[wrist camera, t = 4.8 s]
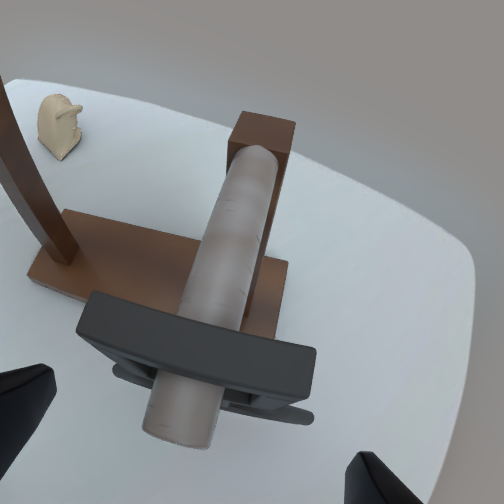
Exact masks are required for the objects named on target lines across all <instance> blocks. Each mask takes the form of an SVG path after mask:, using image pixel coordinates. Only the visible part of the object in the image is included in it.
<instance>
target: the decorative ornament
mask: <svg viewBox="0 0 504 504" xmlns="http://www.w3.org/2000/svg"><path fill="white" fill-rule="evenodd" d="M82 109H83V107H82V106H81V105H74V106H73V105H72V104H71V102H70V100H69V99H68V98H67V97H65V96H63V95H61V94H54V95H49V96H47V97H46V98H45V99H44V100H43V101H42V103H41V106H40V108H39V113H38V140H39V141H40V142H42V143H43V144H44V145H45V146H46V147H47V148H48V149H49V150H50V151H51V152H52V153H53V154H54V156H55V157H56V158H57V159H58V160H60V161H61V160H62V159H63V158H64V156H65V155H66V154H67V153H68V152H69V151H70V150H71V149H72V148H73V147H74V146H75V145H76V144H77V143H78V142H79V140H80V139H81V134H82V132H81V131H80V128H78V127H76V125H77V116H76V115H77V114H78V113H80V112H81V111H82Z"/></svg>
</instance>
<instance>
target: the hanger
mask: <svg viewBox="0 0 504 504" xmlns="http://www.w3.org/2000/svg"><path fill="white" fill-rule="evenodd" d="M76 333H77V334H78V335H79V336H80V337H81V338H83V339H84V340H85V341H87V342H88V343H89V344H91V345H92V346H93V347H95V348H96V349H97V350H99V351H100V352H101V353H103V354H104V355H106V356H107V357H108V358H110V359H111V360H113V361H114V362H116V363H117V364H115V365H114V366H113V368H112V371H113V374H114V375H115V376H116V377H118V378H121V379H124V380H126V381H129V382H131V383H134V384H137V385H140V386H143V387H145V388H148V389H151V390H152V388H153V384H154V381H155V378H156V374H157V371H158V369H161V370H164V371H167V372H171V373H174V374H177V375H181V376H184V377H187V378H191V379H195V380H198V381H202V382H206V383H209V384H213V385H217V386H221V387H225V390H224V394H223V398H222V402H221V406H220V409H221V410H225V411H229V412H234V413H238V414H243V415H247V416H252V417H257V418H263V419H268V420H274V421H279V422H286V423H292V424H301V425H310V424H311V423H312V422H313V421H314V415H313V413H312V412H310V411H307V410H303V409H300V408H296V407H293V406H290V405H289V404H292V403H295V402H298V401H302V400H305V399H307V398H308V397H309V396H310V391H311V385H312V379H313V373H314V367H315V360H316V353H317V352H316V349H315V348H313V347H309V346H304V345H299V344H294V343H289V342H284V341H279V340H275V339H270V338H266V337H261V336H257V335H252V334H248V333H244V332H239V331H235V330H231V329H227V328H223V327H219V326H215V325H211V324H207V323H204V322H200V321H196V320H192V319H189V318H185V317H181V316H178V315H174V314H171V313H167V312H164V311H160V310H157V309H154V308H150V307H147V306H144V305H140V304H137V303H134V302H131V301H128V300H124V299H121V298H118V297H115V296H112V295H109V294H106V293H103V292H100V291H97V290H93V291H92V292H91V294H90V296H89V298H88V301H87V303H86V305H85V308H84V310H83V313H82V315H81V317H80V320H79V322H78V325H77V327H76Z"/></svg>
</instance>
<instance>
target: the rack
mask: <svg viewBox="0 0 504 504" xmlns="http://www.w3.org/2000/svg"><path fill="white" fill-rule="evenodd" d="M295 125H296V123H295V122H294V121H290V120H285V119H281V118H276V117H272V116H267V115H262V114H257V113H251V112H246V111H242V113H241V115H240V117H239V119H238V121H237V123H236V125H235V127H234V129H233V131H232V133H231V135H230V138H229V140H228V149H227V166H226V178H225V181H224V183H223V186H222V188H221V191H220V193H219V196H218V198H217V201H216V204H215V206H214V209H213V211H212V214H211V217H210V219H209V222H208V225H207V227H206V230H205V233H204V235H203V238H202V241H199V240H195V239H191V238H186V237H182V236H178V235H174V234H169V233H165V232H161V231H157V230H153V229H148V228H144V227H140V226H136V225H131V224H127V223H123V222H119V221H114V220H110V219H106V218H102V217H98V216H93V215H89V214H85V213H81V212H76V211H72V210H68V209H64V210H63V212H62V213H61V214H60V212H59V210H58V209H57V207H56V205H55V203H54V201H53V199H52V197H51V196H50V194H49V192H48V190H47V188H46V186H45V184H44V182H43V180H42V178H41V176H40V174H39V172H38V170H37V168H36V165H35V163H34V161H33V159H32V157H31V155H30V152H29V150H28V148H27V146H26V143H25V141H24V139H23V136H22V134H21V131H20V129H19V127H18V124H17V122H16V119H15V116H14V114H13V111H12V108H11V106H10V103H9V100H8V97H7V94H6V92H5V89H4V86H3V82H2V79H1V76H0V183H1V185H2V186H3V188H4V190H5V191H6V193H7V195H8V196H9V198H10V199H11V201H12V203H13V204H14V206H15V207H16V209H17V210H18V212H19V213H20V215H21V216H22V218H23V219H24V221H25V222H26V224H27V225H28V227H29V228H30V230H31V231H32V232H33V234H34V235H35V237H36V238H37V239H38V241H39V242H40V244H41V245H42V247H41V249H40V250H39V252H38V254H37V256H36V258H35V260H34V262H33V264H32V265H31V267H30V269H29V271H28V273H27V276H28V277H29V278H30V279H31V280H32V281H33V282H35V283H37V284H40V285H42V286H45V287H47V288H49V289H52V290H54V291H57V292H59V293H62V294H64V295H67V296H69V297H72V298H74V299H77V300H80V301H82V302H85V303H87V301H88V298H89V296H90V294H91V292H92V291H93V290H97V291H100V292H103V293H106V294H109V295H112V296H115V297H118V298H121V299H124V300H128V301H131V302H134V303H137V304H140V305H144V306H147V307H150V308H154V309H157V310H160V311H164V312H167V313H171V314H174V315H178V316H181V317H185V318H189V319H192V320H196V321H200V322H204V323H207V324H211V325H215V326H219V327H223V328H227V329H231V330H235V331H239V332H244V333H248V334H252V335H257V336H261V337H266V338H270V339H274V338H275V333H276V328H277V323H278V317H279V312H280V307H281V302H282V296H283V291H284V285H285V280H286V274H287V268H288V261H284V260H280V259H276V258H271V257H267V256H264V254H265V250H266V246H267V242H268V238H269V235H270V231H271V227H272V223H273V219H274V215H275V211H276V207H277V203H278V199H279V195H280V191H281V187H282V183H283V179H284V175H285V171H286V167H287V162H288V158H289V154H290V149H291V145H292V139H293V135H294V129H295ZM224 390H225V387H221V386H217V385H213V384H209V383H206V382H202V381H198V380H195V379H191V378H187V377H184V376H181V375H177V374H174V373H171V372H167V371H164V370H161V369H158V371H157V374H156V378H155V381H154V384H153V388H152V391H151V395H150V398H149V401H148V405H147V408H146V412H145V416H144V419H143V423H142V430H143V431H144V432H146V433H147V434H149V435H151V436H153V437H156V438H158V439H161V440H164V441H167V442H170V443H173V444H177V445H181V446H185V447H189V448H194V449H208V448H209V447H210V446H211V442H212V438H213V434H214V430H215V426H216V422H217V418H218V414H219V410H220V406H221V402H222V398H223V394H224Z"/></svg>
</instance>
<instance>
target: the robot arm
mask: <svg viewBox="0 0 504 504" xmlns="http://www.w3.org/2000/svg"><path fill="white" fill-rule="evenodd" d="M56 392H57V387H56V381H55V375H54V371H53V369H52V368H51V367H49V366H47V365H45V364H43V363H40V364H36V365H32V366H28V367H24V368H19V369H15V370H11V371H7V372H2V373H0V480H1V479H2V477H3V476H4V474H5V473H6V471H7V470H8V468H9V467H10V466H11V464H12V463H13V461H14V460H15V458H16V457H17V455H18V454H19V453H20V451H21V450H22V448H23V447H24V445H25V444H26V443H27V441H28V440H29V438H30V437H31V436H32V434H33V433H34V431H35V430H36V428H37V427H38V425H39V423H40V421H41V420H42V418H43V416H44V414H45V413H46V411H47V409H48V407H49V406H50V404H51V402H52V400H53V399H54V397H55V395H56ZM344 504H423V503H422V502H421V501H420V500H419V499H418V498H417V497H416V496H415V495H414V494H413V493H412V492H411V491H410V490H409V489H408V488H407V487H406V486H405V485H404V484H403V483H402V482H401V481H400V479H399V478H398V477H397V476H396V475H395V474H394V473H393V472H392V471H391V470H390V469H389V468H388V467H387V466H386V465H385V464H384V463H383V462H382V461H381V460H380V459H379V458H378V457H377V456H376V455H375V454H374V453H373V452H371V451H360V452H358V453H357V454H356V456H355V457H354V458H353V460H352V461H351V463H350V464H349V466H348V467H347V469H346V472H345V494H344Z"/></svg>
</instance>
